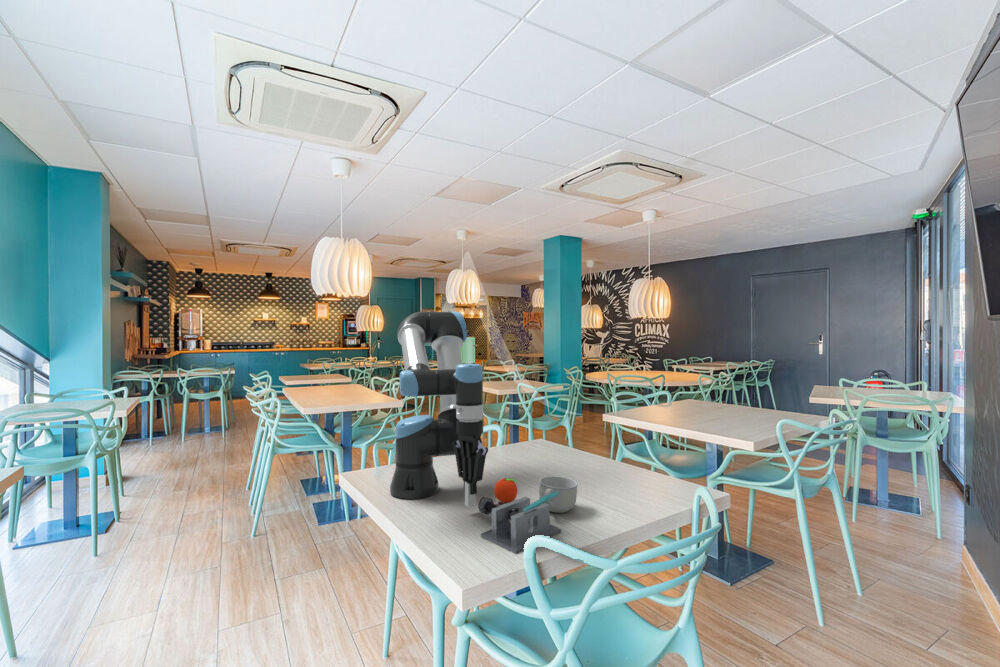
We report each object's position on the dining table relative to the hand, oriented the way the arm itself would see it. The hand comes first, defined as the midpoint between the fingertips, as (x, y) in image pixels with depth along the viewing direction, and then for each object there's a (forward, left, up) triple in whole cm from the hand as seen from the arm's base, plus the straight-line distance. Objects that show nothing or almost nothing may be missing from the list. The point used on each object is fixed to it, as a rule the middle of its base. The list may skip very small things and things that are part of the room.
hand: (470, 504), depth 127 cm
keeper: (+26, 0, +7) cm, 27 cm away
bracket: (+19, 0, -2) cm, 20 cm away
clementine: (+1, +13, -3) cm, 13 cm away
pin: (+12, 0, -1) cm, 12 cm away
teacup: (+15, +18, -3) cm, 24 cm away
